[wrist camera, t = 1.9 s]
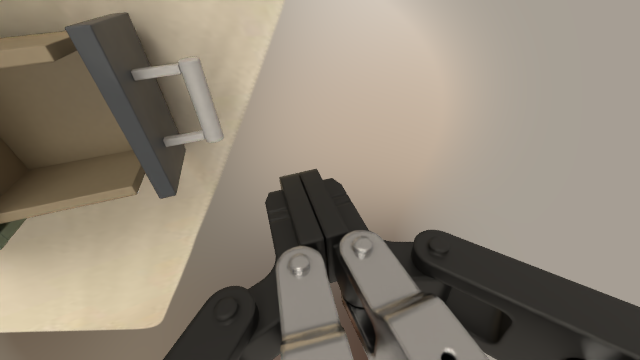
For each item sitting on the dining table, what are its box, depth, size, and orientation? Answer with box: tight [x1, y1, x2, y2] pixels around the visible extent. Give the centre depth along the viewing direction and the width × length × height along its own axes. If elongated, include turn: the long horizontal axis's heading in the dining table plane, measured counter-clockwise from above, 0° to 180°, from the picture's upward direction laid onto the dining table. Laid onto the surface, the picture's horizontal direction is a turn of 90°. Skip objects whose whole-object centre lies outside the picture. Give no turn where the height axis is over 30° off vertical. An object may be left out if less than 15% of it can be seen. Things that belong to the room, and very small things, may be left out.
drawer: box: [0, 13, 224, 224], centre depth 19 cm, size 17×11×7 cm
